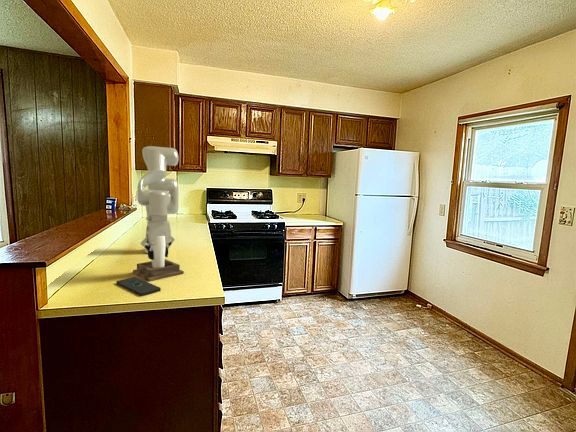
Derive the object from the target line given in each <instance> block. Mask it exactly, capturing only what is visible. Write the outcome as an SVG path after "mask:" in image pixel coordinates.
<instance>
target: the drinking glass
mask: <svg viewBox="0 0 576 432" xmlns="http://www.w3.org/2000/svg"><path fill="white" fill-rule="evenodd" d="M150 246H151V245H150ZM165 250H166V243H165V236H159V237H157V244H156V245H153V249H152V251H153V252H154V259H153V260H151V261H152V267H153V268H155V269H157V268H162V267H164V266H165V259H166V257H165Z"/></svg>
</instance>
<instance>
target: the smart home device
mask: <svg viewBox="0 0 576 432" xmlns="http://www.w3.org/2000/svg"><path fill="white" fill-rule="evenodd" d="M116 285H118V286H119V287H122V288H123V289H125V290H127V291H129V292H132V293H133V294H136V295H137V296H139V297H145V296H149V295H152V294H156V293H158V292H161V287H159V286H157V285H155V284H153V283H151V282H149V281H147V280H145V279H144V280H143V278H142V279H141V278H140V277H136V276H131V277H127V278H124V279H123V278H122V279H119V280H116Z"/></svg>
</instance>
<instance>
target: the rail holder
mask: <svg viewBox="0 0 576 432" xmlns="http://www.w3.org/2000/svg"><path fill="white" fill-rule="evenodd" d="M132 273H133V274H134V275H136V276H138V277H139V278H142V279H144V280H145V281H147V282H154V281H157V280H163V279H167V278H171V277H175V276H180V275H184V273H185V272H184V270H183V269H182V270H181V266H180V264H178V263H175V262H173V261H171V260H169V259H166V258H165V266H164V267H162V268H157V269H155V268H153V267H152V260H150V261H145V262H139V263H136V269H133V270H132Z"/></svg>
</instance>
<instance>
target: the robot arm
mask: <svg viewBox="0 0 576 432" xmlns="http://www.w3.org/2000/svg"><path fill="white" fill-rule="evenodd" d="M141 152H142V158H143V162H144V163H145V165H146V168H147V172H146V173H145V174H144V175H143V176H142V177H141V178H140V180H139V181H138V183H137V187H136V189H137V191H136V193H137V195H136V198H137V203H138V204H139V205H140V206H142V207H145V212H146V217H145V220H146V231H145V238H144V239H143V240H142V241H141V242H140V245H141V246H142V247H144V248H145V249H144V253H145V254H147V258H148V259H150V261H152V260H153V259H154V252H153V251H152V249H153V245H156V244H157V237H159V236H165V243H166V250H165V258H168V257H169V249H170V247H171V246H172V244H173V243H174V241H175V238H174V237H173V236H172V231H171V224H170V221H168V215H175V214H177V213H178V212H179V204H180V203H179V182H178V181H177V180H176V179H174V178H166V177H167V166H173V167H174V166H177V165H178V164H179V159H180V158H179V153H178V151H177V149H176V148H174V147H164V146H163V147H162V146H154V145H153V146H152V145H148V146H145V147H143V148H142V151H141ZM146 187H148V188H147V189H145V188H146ZM150 245H151V246H150Z"/></svg>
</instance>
